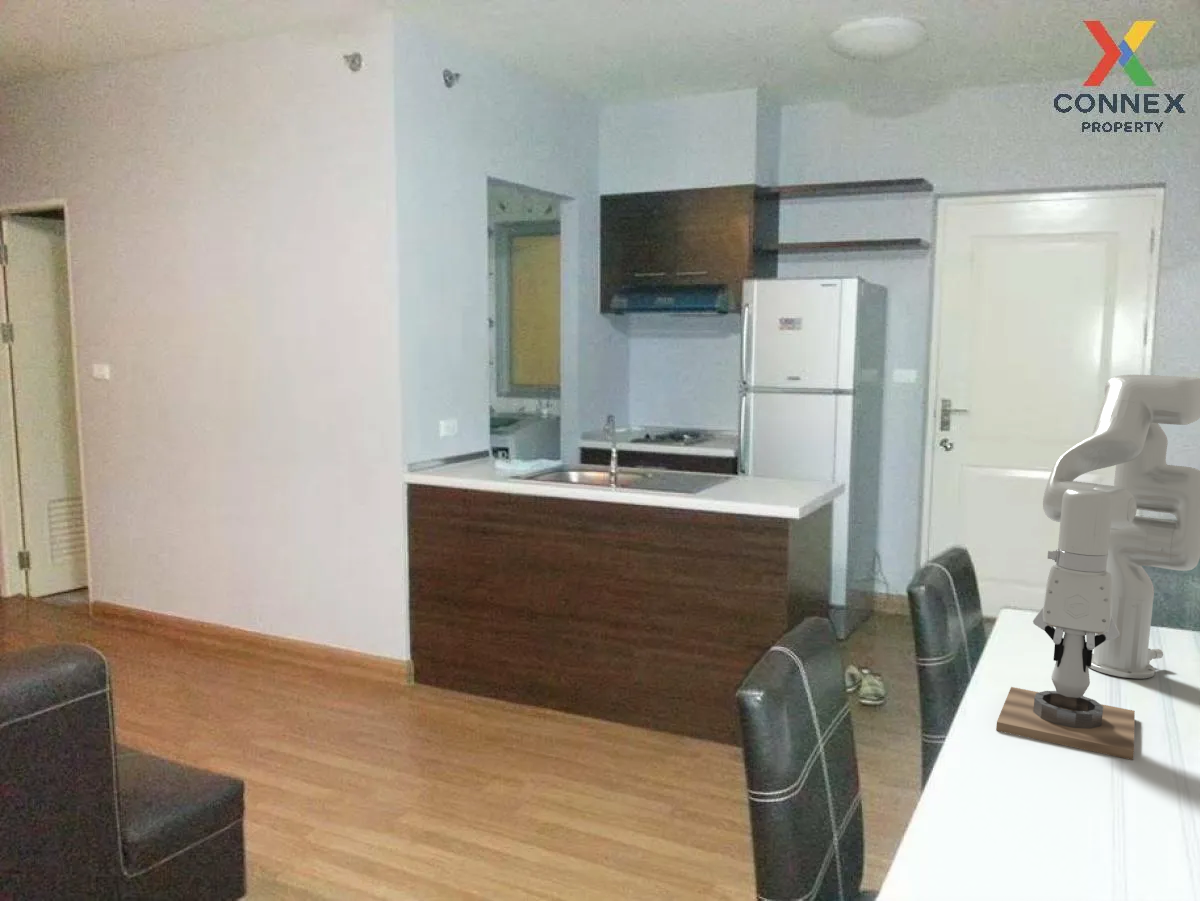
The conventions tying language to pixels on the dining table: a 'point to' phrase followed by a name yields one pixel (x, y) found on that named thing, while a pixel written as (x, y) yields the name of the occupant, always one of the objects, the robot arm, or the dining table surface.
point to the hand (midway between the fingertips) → (1071, 666)
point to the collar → (1083, 717)
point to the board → (1104, 739)
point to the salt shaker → (1071, 666)
